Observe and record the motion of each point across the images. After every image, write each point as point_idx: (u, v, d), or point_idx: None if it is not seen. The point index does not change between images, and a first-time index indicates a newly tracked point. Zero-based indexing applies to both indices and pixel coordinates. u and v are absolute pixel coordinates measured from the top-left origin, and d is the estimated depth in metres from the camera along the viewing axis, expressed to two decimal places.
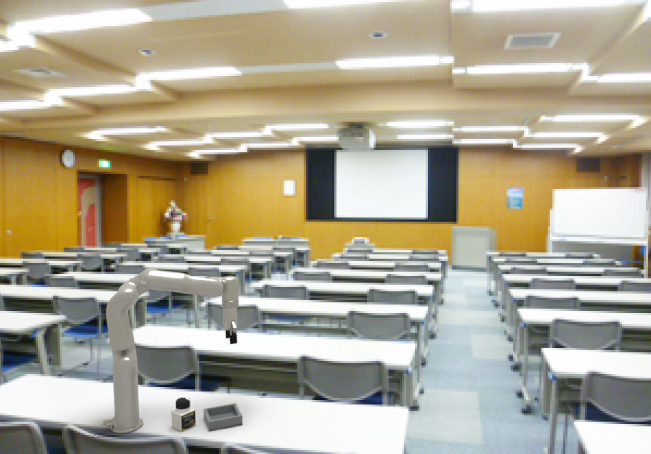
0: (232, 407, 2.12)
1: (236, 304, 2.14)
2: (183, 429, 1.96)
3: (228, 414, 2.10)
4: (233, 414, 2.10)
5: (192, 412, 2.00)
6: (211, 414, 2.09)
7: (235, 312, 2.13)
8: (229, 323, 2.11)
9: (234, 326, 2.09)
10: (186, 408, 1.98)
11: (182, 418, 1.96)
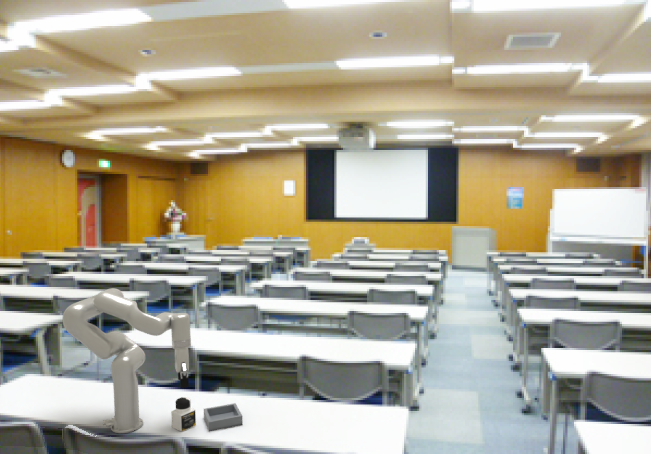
0: (232, 407, 2.12)
1: (187, 344, 1.97)
2: (183, 429, 1.96)
3: (228, 414, 2.10)
4: (233, 414, 2.10)
5: (192, 412, 2.00)
6: (211, 414, 2.09)
7: (186, 353, 1.96)
8: (179, 365, 1.94)
9: (184, 369, 1.92)
10: (186, 408, 1.98)
11: (182, 418, 1.96)
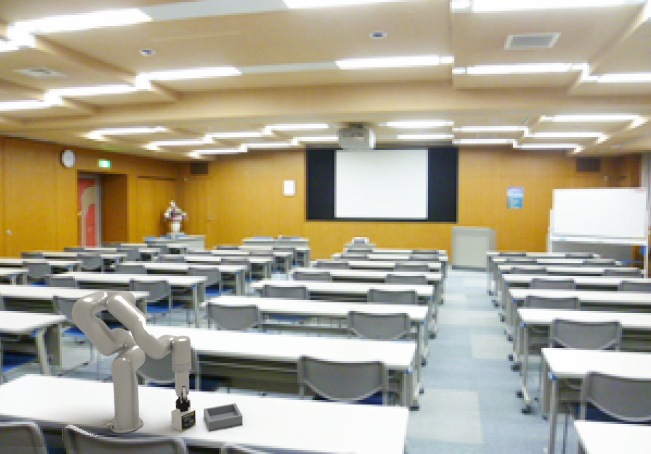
0: (232, 407, 2.12)
1: (188, 367, 1.98)
2: (183, 429, 1.96)
3: (228, 414, 2.10)
4: (233, 414, 2.10)
5: (192, 412, 2.00)
6: (211, 414, 2.09)
7: (186, 376, 1.96)
8: (179, 389, 1.95)
9: (184, 395, 1.93)
10: None
11: (182, 418, 1.96)
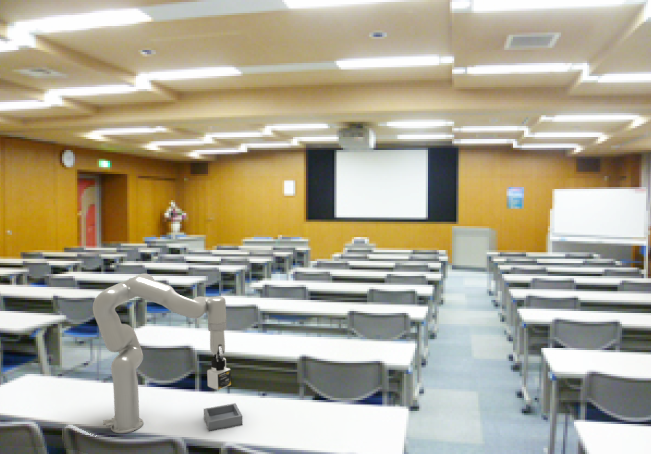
0: (232, 407, 2.12)
1: (223, 327, 2.01)
2: (219, 387, 2.00)
3: (228, 414, 2.10)
4: (233, 414, 2.10)
5: (227, 371, 2.03)
6: (211, 414, 2.09)
7: (222, 335, 1.99)
8: (216, 347, 1.98)
9: (221, 353, 1.96)
10: None
11: (219, 377, 1.99)
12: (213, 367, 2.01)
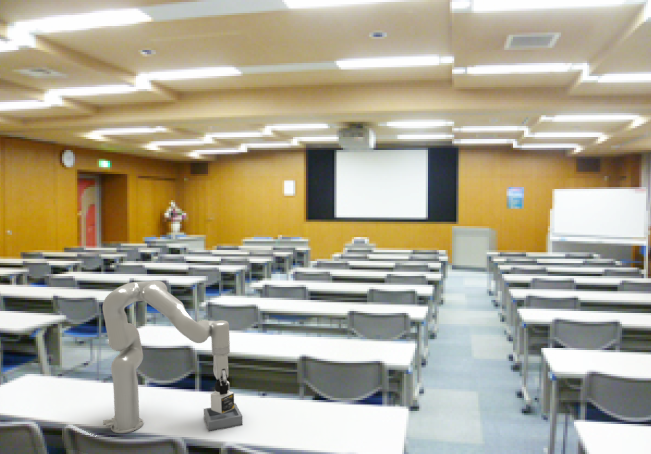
0: None
1: (227, 351, 2.02)
2: (223, 411, 2.00)
3: (228, 414, 2.10)
4: (233, 414, 2.10)
5: (231, 395, 2.04)
6: (211, 414, 2.09)
7: (226, 360, 2.00)
8: (219, 372, 1.99)
9: (224, 378, 1.97)
10: None
11: (222, 401, 2.00)
12: (216, 391, 2.02)
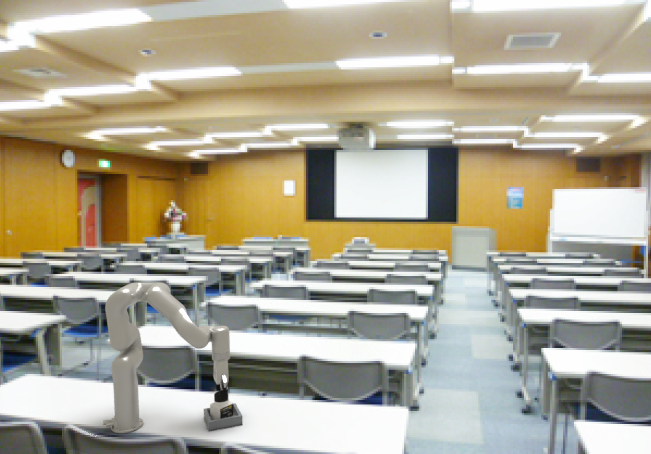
0: None
1: (227, 356, 2.02)
2: None
3: None
4: (233, 414, 2.10)
5: (230, 405, 2.04)
6: None
7: (226, 365, 2.00)
8: (219, 377, 1.99)
9: (225, 381, 1.97)
10: (224, 401, 2.02)
11: (221, 411, 2.00)
12: (216, 401, 2.02)
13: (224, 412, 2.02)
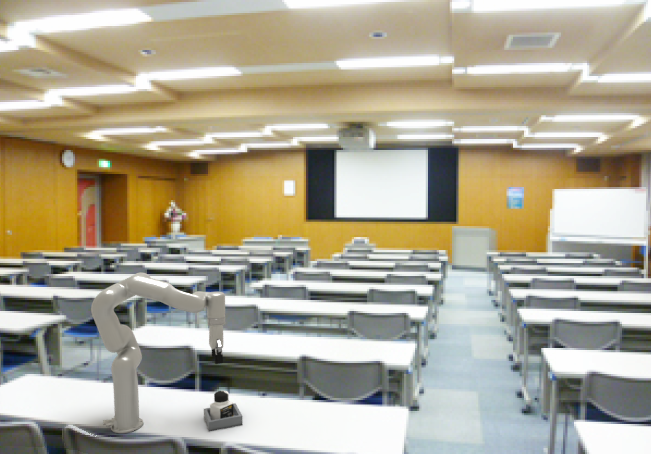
0: None
1: (222, 321, 2.03)
2: None
3: None
4: (233, 414, 2.10)
5: (230, 405, 2.04)
6: None
7: (221, 330, 2.01)
8: (214, 342, 2.00)
9: (219, 345, 1.98)
10: (224, 401, 2.02)
11: (221, 411, 2.00)
12: (216, 401, 2.02)
13: (224, 412, 2.02)
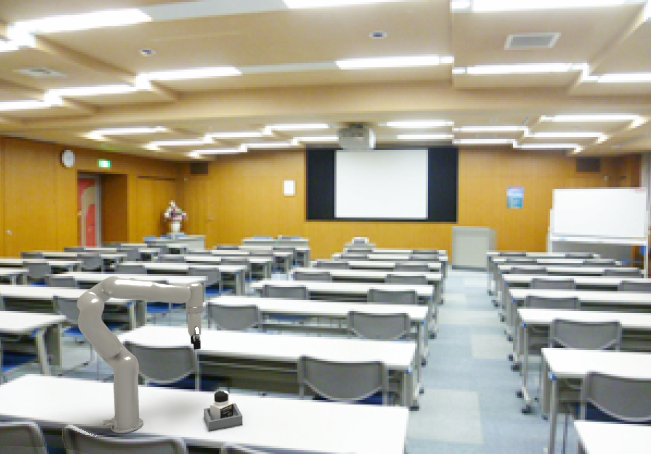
0: None
1: (200, 310, 2.16)
2: None
3: None
4: (233, 414, 2.10)
5: (230, 405, 2.04)
6: None
7: (199, 318, 2.15)
8: (192, 329, 2.13)
9: (197, 332, 2.11)
10: (224, 401, 2.02)
11: (221, 411, 2.00)
12: (216, 401, 2.02)
13: (224, 412, 2.02)
